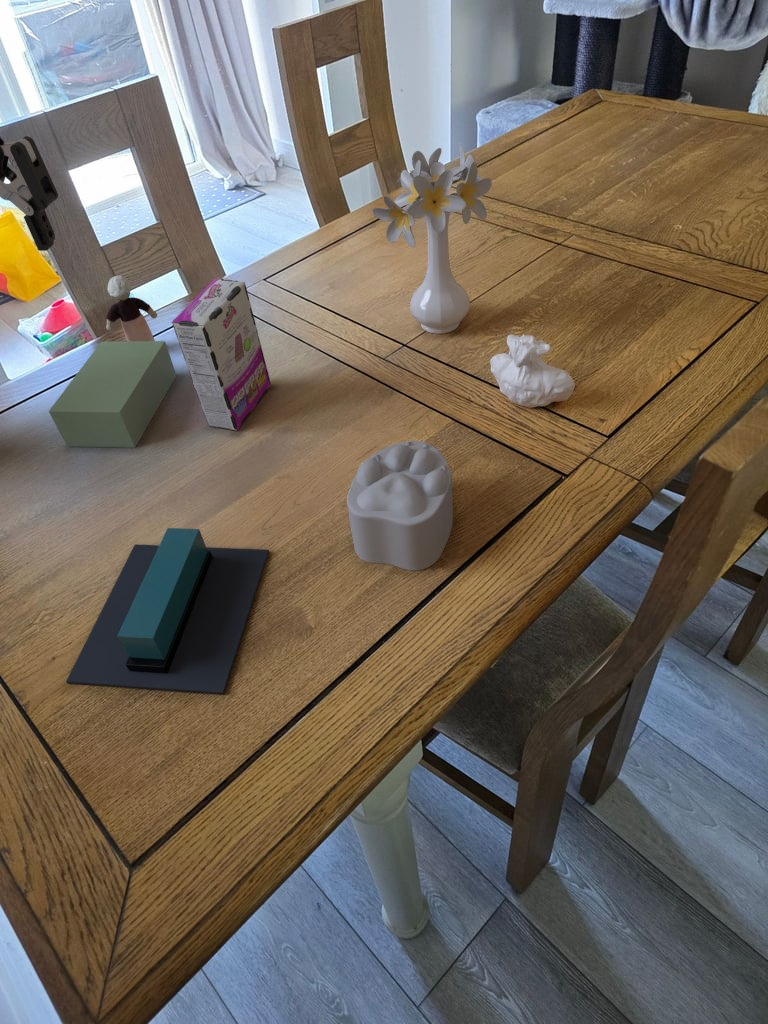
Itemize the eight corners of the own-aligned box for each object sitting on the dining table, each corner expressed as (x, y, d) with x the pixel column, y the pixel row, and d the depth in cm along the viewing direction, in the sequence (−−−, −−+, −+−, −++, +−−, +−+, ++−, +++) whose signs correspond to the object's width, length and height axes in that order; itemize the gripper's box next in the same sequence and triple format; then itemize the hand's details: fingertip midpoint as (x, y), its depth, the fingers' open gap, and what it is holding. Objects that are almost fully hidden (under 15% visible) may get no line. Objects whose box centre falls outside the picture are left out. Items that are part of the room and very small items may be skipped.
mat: (67, 683, 68) (65, 681, 67) (135, 546, 80) (134, 544, 80) (224, 694, 65) (222, 692, 65) (269, 551, 78) (268, 549, 78)
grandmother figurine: (159, 338, 114) (133, 264, 105) (170, 347, 111) (144, 272, 102) (115, 357, 110) (85, 282, 101) (126, 366, 108) (95, 291, 99)
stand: (66, 446, 95) (48, 411, 91) (115, 375, 107) (101, 341, 102) (135, 447, 93) (119, 412, 89) (177, 375, 105) (165, 340, 101)
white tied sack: (487, 400, 98) (462, 371, 88) (509, 351, 98) (486, 316, 88) (566, 426, 93) (548, 398, 83) (589, 374, 93) (575, 340, 83)
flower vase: (374, 347, 106) (356, 176, 89) (431, 292, 117) (426, 130, 99) (450, 366, 101) (447, 189, 83) (503, 307, 112) (510, 139, 94)
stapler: (167, 673, 67) (152, 645, 64) (129, 671, 68) (111, 643, 64) (213, 557, 78) (201, 527, 74) (179, 555, 78) (166, 526, 75)
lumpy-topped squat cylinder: (344, 557, 76) (333, 500, 70) (381, 479, 85) (375, 423, 79) (435, 575, 74) (432, 518, 67) (464, 493, 82) (464, 435, 76)
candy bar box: (242, 381, 103) (213, 277, 91) (272, 385, 101) (247, 280, 90) (204, 427, 95) (169, 320, 84) (237, 432, 94) (204, 324, 82)
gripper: (-170, 89, 61) (-70, 266, 72) (-23, 80, 59) (56, 263, 70) (-117, 66, 66) (-31, 234, 77) (20, 57, 64) (87, 231, 75)
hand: (10, 248), depth 74 cm, fingers open, 8 cm apart
